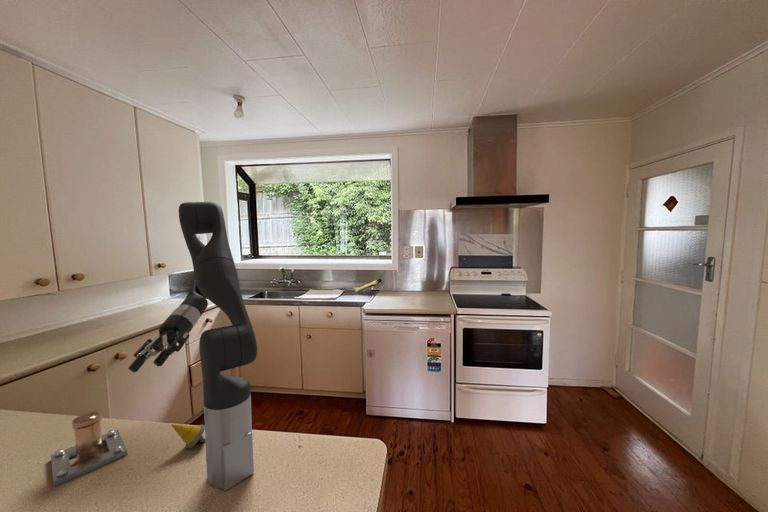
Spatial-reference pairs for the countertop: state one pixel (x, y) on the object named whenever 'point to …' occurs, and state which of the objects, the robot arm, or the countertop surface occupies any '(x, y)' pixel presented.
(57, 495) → the countertop surface
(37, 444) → the countertop surface
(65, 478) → the flange
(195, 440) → the drill bit
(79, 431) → the pipe stub
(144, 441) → the countertop surface
